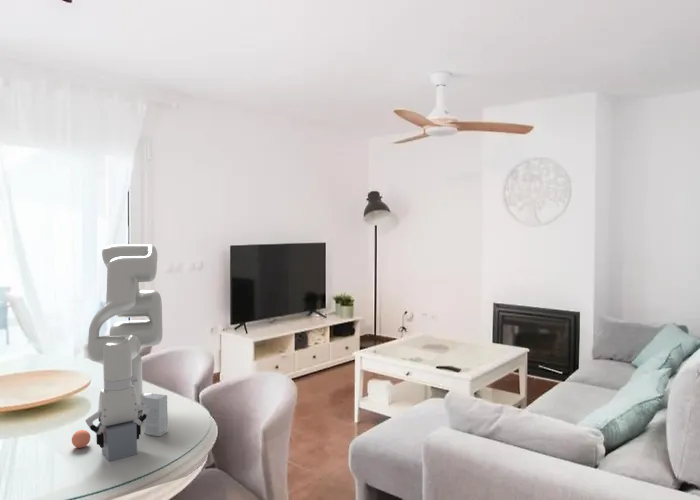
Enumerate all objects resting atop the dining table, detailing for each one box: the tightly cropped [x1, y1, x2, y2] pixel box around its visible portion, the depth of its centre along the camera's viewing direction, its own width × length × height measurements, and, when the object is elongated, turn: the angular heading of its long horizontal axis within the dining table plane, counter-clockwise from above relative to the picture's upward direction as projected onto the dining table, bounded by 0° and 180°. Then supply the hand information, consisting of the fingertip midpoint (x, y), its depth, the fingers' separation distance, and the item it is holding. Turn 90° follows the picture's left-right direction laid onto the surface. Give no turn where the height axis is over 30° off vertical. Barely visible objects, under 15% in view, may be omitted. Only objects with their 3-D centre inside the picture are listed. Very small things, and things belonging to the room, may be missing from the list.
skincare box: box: [143, 392, 169, 437], centre depth 166 cm, size 6×4×12 cm
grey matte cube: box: [101, 421, 138, 462], centre depth 151 cm, size 8×8×9 cm
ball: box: [71, 429, 91, 449], centre depth 155 cm, size 5×5×5 cm
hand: (119, 441), depth 151 cm, fingers open, 9 cm apart
